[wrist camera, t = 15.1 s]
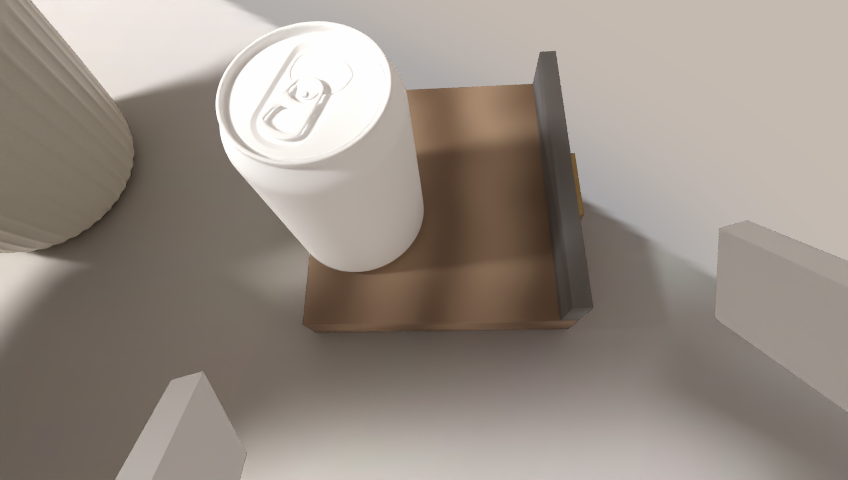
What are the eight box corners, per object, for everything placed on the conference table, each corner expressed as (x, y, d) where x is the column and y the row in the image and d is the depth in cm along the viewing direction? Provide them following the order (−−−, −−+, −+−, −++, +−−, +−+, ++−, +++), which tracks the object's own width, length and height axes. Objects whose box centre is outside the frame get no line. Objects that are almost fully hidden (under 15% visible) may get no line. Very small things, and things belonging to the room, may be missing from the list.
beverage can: (446, 189, 29) (439, 46, 18) (386, 297, 27) (336, 209, 16) (341, 145, 31) (277, -9, 20) (276, 243, 29) (161, 129, 17)
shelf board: (315, 332, 29) (284, 312, 24) (334, 115, 35) (314, 63, 30) (574, 328, 28) (601, 307, 23) (546, 106, 34) (561, 50, 29)
